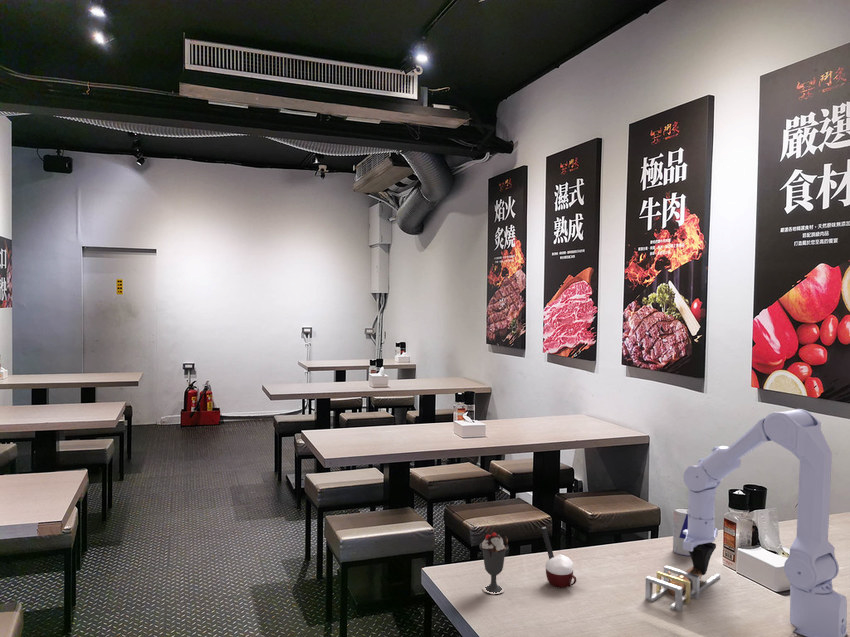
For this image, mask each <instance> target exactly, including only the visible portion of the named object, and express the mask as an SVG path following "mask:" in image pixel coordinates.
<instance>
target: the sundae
mask: <svg viewBox="0 0 850 637" xmlns="http://www.w3.org/2000/svg"><path fill="white" fill-rule="evenodd" d="M485 529H486V530H487V534H486V535H485V539H484V540H483V541H482V542H480V544H479V549H480V550H481V551H482V555H483V556H482V557H483V562H484V563H483V564H484V570H485V571H486V572H487V573H488V574H489V576H490V583H489V584H488V585H489V586H487V587H485V588H486V590H487V591H489V592H493V593H494V592H495V593H497V592H500V591H501V590H502V588H501V587H502V586H501V587H500V585H498V583H497V576H498V575H500V574H501V572H502V571H503V569H504V563H505V556H506V551H508V549H509V544H508V543H509V542H508V540H509V539H508V537H507V535H505V536H504V537H503V538H502V536H500V534H497V532H495V531H492V529H491V528H490V526H488V525H487V526H485ZM489 530H490V531H491V534H489Z"/></svg>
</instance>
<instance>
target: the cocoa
mask: <svg viewBox="0 0 850 637" xmlns="http://www.w3.org/2000/svg"><path fill="white" fill-rule="evenodd" d="M541 532H542V536H543V540H544V544H545V549H546V551H547V556H548V559H547V561H546V563H545V576H546V580H547V581H548V583H549V584H550V585H551V586H552V587H554V588H556V587H557V589H565V588H567V587H568V588H569V587H571V586H574V585H575V584H576V583H577V577H576V576H575V575H574V567H573V566H574V562H573V561H572V559H570V557H568V556H566V555H564V554H557V555H556V556H554V551H553V548H552V545H551V544H552V543H551V541H550V536H549V533H548V528H547V527H546V526H543V527H541ZM572 580H573V582H572Z"/></svg>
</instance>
